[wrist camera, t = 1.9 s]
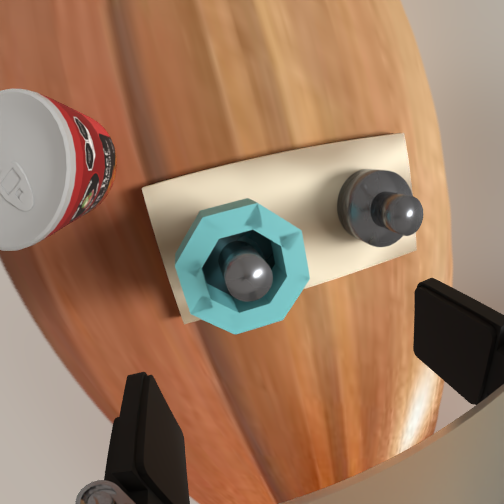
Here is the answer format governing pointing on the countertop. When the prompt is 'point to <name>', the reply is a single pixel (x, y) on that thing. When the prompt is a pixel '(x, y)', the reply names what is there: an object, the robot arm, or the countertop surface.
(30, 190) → the canned food
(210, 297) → the teal octagonal collar
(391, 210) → the knob
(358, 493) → the robot arm
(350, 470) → the countertop surface
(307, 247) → the base board
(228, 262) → the stand
